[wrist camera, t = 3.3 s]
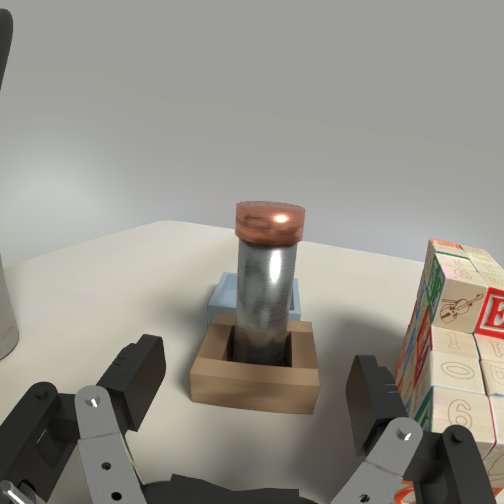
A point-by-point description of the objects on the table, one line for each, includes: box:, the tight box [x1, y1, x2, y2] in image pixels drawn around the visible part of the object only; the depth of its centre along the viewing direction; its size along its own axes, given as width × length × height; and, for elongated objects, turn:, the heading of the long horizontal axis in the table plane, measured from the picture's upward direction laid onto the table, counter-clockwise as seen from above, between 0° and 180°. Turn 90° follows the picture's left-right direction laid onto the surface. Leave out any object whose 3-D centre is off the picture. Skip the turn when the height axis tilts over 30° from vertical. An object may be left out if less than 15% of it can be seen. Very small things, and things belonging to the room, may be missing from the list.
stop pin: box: [234, 201, 305, 367], centre depth 22 cm, size 5×5×14 cm
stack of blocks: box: [389, 239, 504, 504], centre depth 16 cm, size 21×6×12 cm, turn 151°
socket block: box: [190, 313, 320, 414], centre depth 24 cm, size 9×9×3 cm
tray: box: [207, 272, 301, 330], centre depth 34 cm, size 9×9×3 cm
